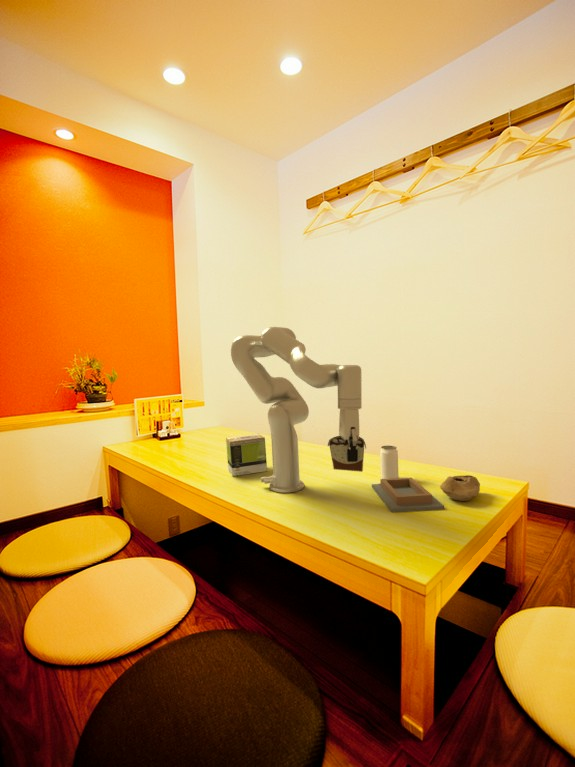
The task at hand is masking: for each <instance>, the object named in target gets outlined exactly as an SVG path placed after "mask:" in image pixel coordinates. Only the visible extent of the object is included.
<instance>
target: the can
mask: <svg viewBox="0 0 575 767" xmlns="http://www.w3.org/2000/svg"><path fill="white" fill-rule="evenodd" d="M379 461H380V462H379V464H380V467H379V468H380V478H381V479H394V478H399V453H398V450H397V446H395V445H382V446H380V451H379Z"/></svg>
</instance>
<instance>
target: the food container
mask: <svg viewBox="0 0 575 767" xmlns="http://www.w3.org/2000/svg"><path fill="white" fill-rule="evenodd" d="M349 439H352V438H349ZM350 443H351V442H350ZM327 447H329V450H330V457H331V461H332V462H331V463H332V467H333V470H336V471H337V470H338V471H349V472H350V471H351V472H362V473H363V470H364V457H365V456H364V455H365V449H367V444H366V441H365V439H364V438H363V437H362V436H359V439H358V440H357V447H358V461H357V462H348V461H347V449H348V441H347V440H346V441H344V440H343V439H342V438H341V437H340V435H337V436H333V437H331V438H330V439H329V440H328V442H327Z"/></svg>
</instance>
